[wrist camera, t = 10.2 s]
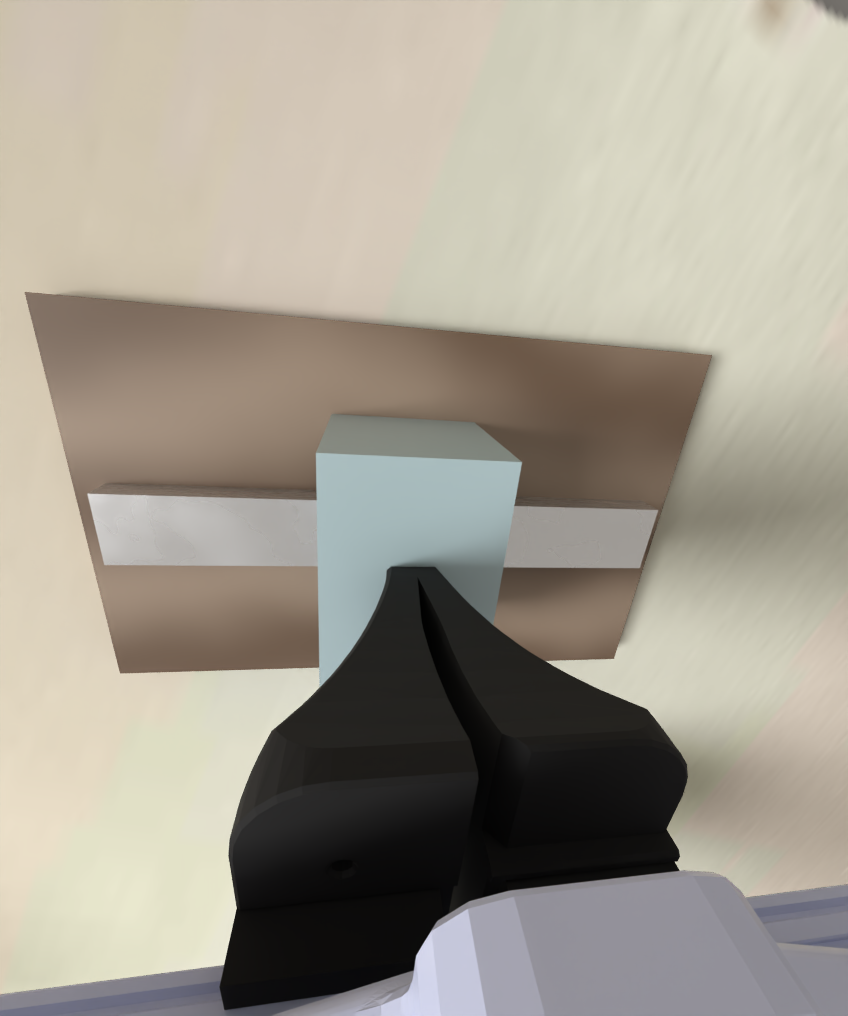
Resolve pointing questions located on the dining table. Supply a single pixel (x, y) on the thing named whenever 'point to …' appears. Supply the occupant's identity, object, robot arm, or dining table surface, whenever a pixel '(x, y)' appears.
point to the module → (406, 516)
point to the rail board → (292, 467)
